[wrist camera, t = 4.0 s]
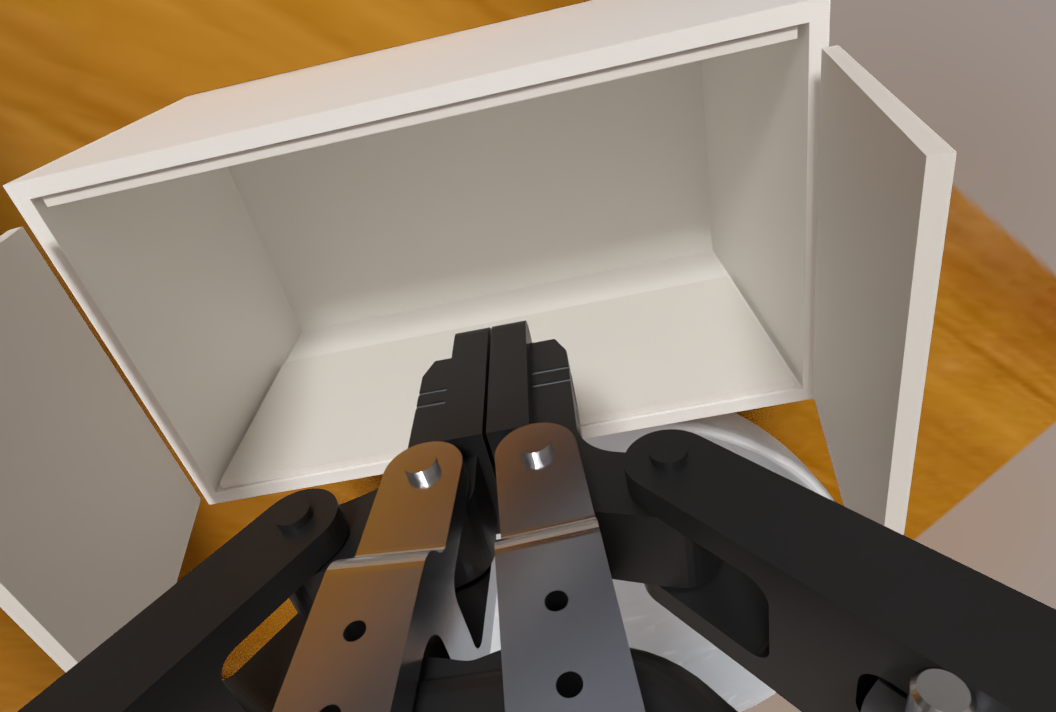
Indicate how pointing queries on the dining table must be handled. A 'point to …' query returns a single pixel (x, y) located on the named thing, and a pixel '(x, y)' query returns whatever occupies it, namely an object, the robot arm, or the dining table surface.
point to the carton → (457, 231)
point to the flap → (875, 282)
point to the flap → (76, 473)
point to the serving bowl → (655, 623)
